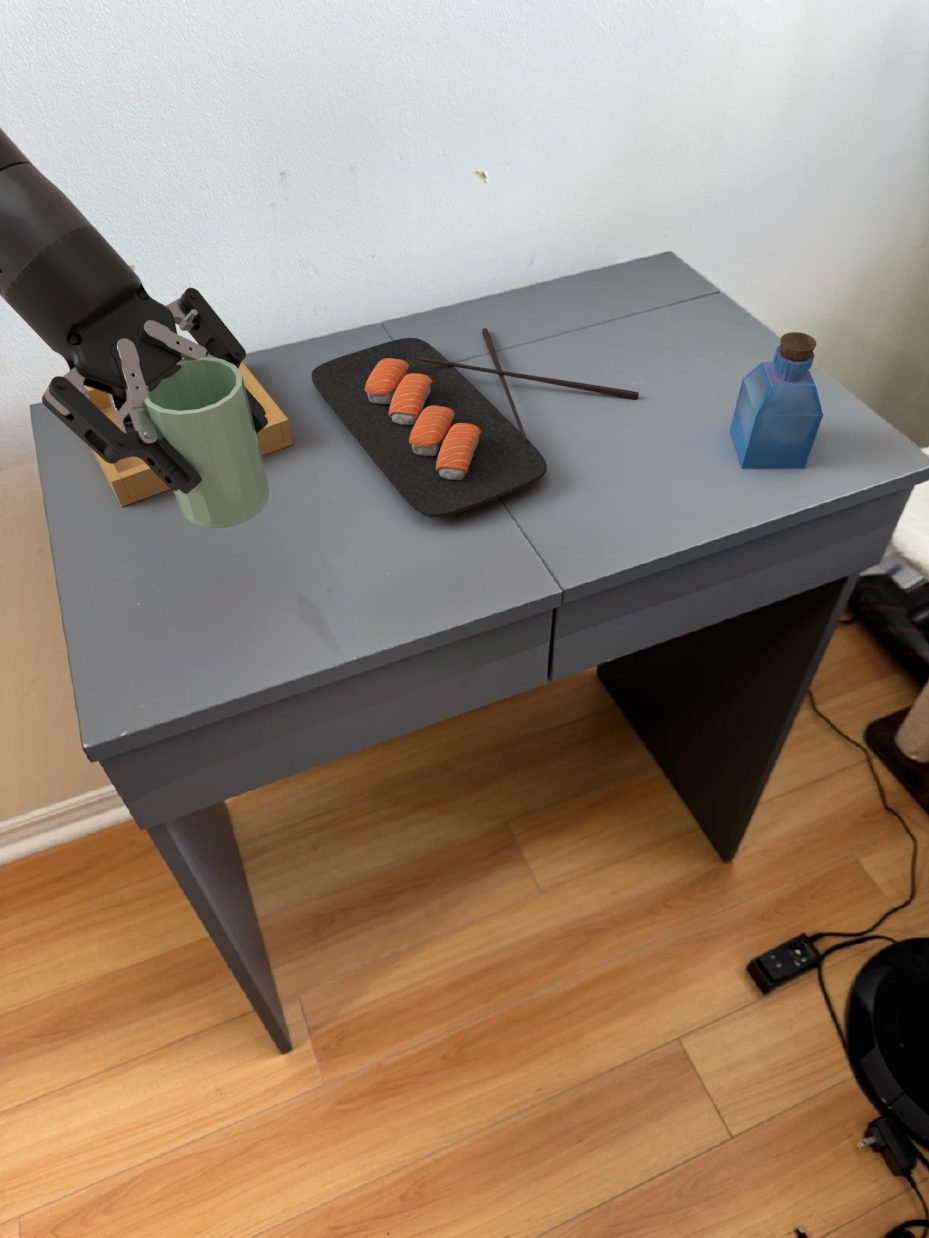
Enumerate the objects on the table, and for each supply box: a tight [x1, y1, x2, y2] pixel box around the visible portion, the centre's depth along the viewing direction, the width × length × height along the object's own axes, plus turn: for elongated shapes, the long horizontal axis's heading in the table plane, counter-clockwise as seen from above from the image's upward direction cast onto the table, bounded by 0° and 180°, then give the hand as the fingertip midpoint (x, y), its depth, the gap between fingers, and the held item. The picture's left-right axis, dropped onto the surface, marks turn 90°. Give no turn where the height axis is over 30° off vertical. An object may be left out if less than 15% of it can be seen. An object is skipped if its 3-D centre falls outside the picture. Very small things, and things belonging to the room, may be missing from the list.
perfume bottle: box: [729, 331, 824, 469], centre depth 83 cm, size 6×6×12 cm
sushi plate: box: [310, 327, 640, 518], centre depth 92 cm, size 29×30×4 cm
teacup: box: [144, 357, 270, 529], centre depth 62 cm, size 7×7×10 cm
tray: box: [84, 358, 294, 508], centre depth 90 cm, size 18×17×3 cm
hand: (228, 457), depth 62 cm, fingers closed on teacup, 6 cm apart
